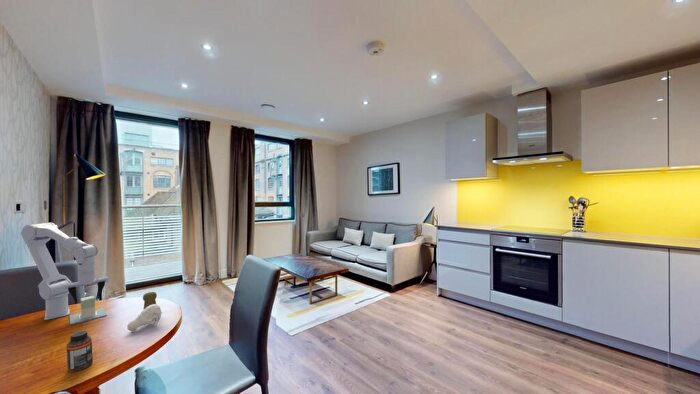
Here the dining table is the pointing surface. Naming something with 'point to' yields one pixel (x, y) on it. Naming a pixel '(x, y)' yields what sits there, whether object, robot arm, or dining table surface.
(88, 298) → the sage block
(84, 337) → the supplement bottle
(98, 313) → the plate
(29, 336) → the dining table surface
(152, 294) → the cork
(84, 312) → the cream block
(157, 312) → the white lumpy piece
